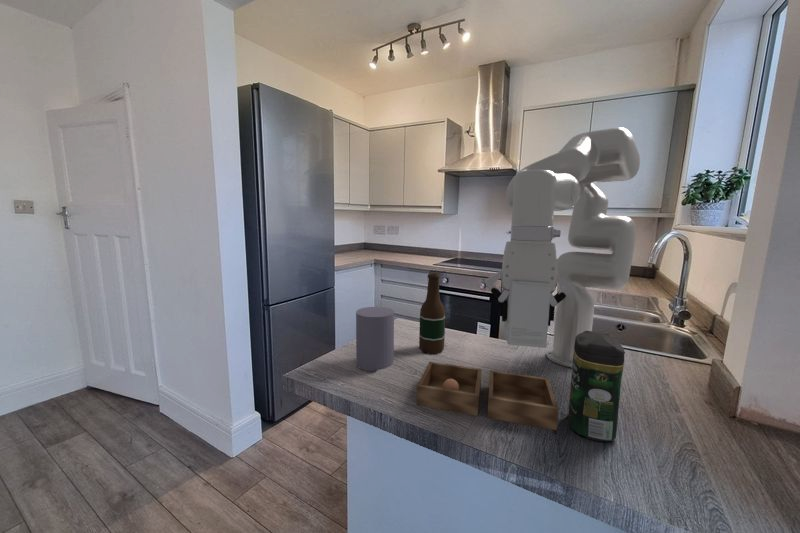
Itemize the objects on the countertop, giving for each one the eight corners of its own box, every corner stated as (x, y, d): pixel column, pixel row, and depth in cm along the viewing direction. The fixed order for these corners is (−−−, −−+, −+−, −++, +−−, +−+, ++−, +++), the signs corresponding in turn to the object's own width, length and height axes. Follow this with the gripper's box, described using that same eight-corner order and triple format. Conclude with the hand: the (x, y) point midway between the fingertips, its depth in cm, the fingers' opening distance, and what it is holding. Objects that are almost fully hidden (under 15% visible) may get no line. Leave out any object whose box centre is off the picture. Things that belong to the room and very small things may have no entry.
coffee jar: (565, 409, 68) (573, 325, 66) (609, 419, 65) (619, 331, 63) (569, 436, 60) (578, 340, 57) (619, 449, 56) (631, 348, 54)
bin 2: (546, 399, 72) (548, 378, 71) (556, 434, 60) (558, 409, 60) (488, 390, 76) (489, 370, 75) (487, 421, 64) (488, 397, 63)
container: (368, 353, 96) (368, 305, 94) (399, 360, 91) (400, 309, 89) (348, 367, 87) (348, 313, 85) (382, 375, 82) (382, 319, 80)
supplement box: (547, 348, 62) (552, 284, 60) (507, 345, 63) (510, 282, 61) (538, 335, 69) (543, 277, 67) (503, 332, 70) (506, 276, 69)
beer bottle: (445, 355, 96) (448, 276, 92) (419, 354, 96) (421, 275, 92) (442, 345, 103) (445, 272, 100) (418, 344, 103) (420, 271, 100)
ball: (459, 392, 73) (460, 377, 73) (457, 400, 70) (458, 384, 69) (443, 389, 74) (444, 374, 74) (441, 397, 71) (441, 382, 70)
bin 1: (480, 388, 76) (481, 369, 76) (477, 419, 64) (478, 396, 64) (428, 380, 80) (429, 361, 79) (416, 408, 68) (417, 386, 67)
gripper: (575, 236, 64) (568, 320, 67) (485, 234, 69) (482, 313, 71) (585, 237, 57) (576, 332, 59) (484, 235, 62) (480, 322, 64)
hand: (525, 321), depth 65 cm, fingers closed on supplement box, 7 cm apart
